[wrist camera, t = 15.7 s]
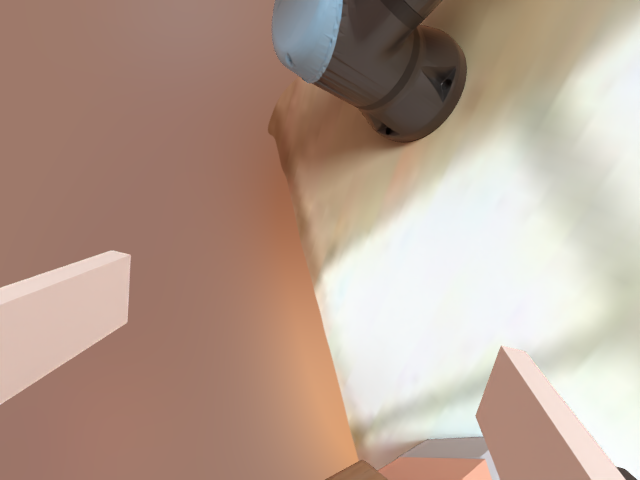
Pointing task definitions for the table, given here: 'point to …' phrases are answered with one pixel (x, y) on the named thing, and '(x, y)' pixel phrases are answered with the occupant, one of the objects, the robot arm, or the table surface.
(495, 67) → the table surface
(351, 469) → the wooden block
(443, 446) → the tower base
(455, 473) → the tower top
